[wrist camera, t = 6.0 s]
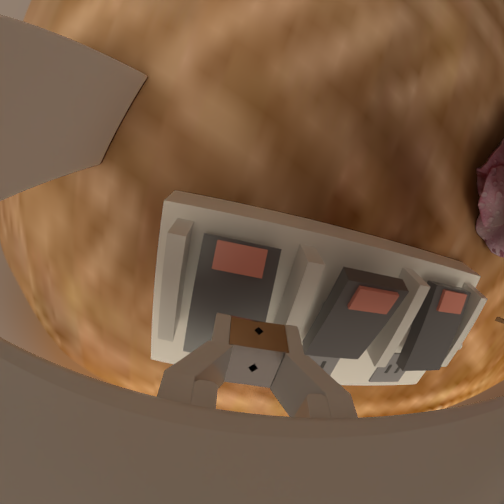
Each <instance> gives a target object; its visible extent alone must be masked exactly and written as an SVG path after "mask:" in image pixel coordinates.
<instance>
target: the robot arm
mask: <svg viewBox="0 0 504 504" xmlns="http://www.w3.org/2000/svg"><path fill="white" fill-rule="evenodd" d="M224 382H231V383H239V384H248V385H254V386H261V387H268V388H270V389H271V391H272V392H273V394H274V395H275V397H276V398H277V399H278V401H279V402H280V404H281V405H282V406H283V408H284V409H285V411H286V412H287V413H288V415H289V416H290V417H283V416H270V415H260V414H250V413H242V412H234V411H227V410H220V409H216V399H217V389H218V388H219V387H220V386H221V385H222V384H223V383H224ZM0 504H504V396H499V397H496V398H492V399H489V400H484V401H481V402H476V403H472V404H467V405H462V406H458V407H452V408H447V409H441V410H435V411H428V412H421V413H413V414H404V415H394V416H382V417H366V418H358V417H357V413H356V410H355V407H354V404H353V401H352V397H351V394H350V393H349V392H347V391H346V390H345V389H344V388H343V387H342V386H341V385H340V384H339V383H337V382H336V381H335V380H334V379H333V378H332V377H331V376H330V375H329V374H328V373H326V372H325V371H324V370H323V369H322V368H321V367H320V366H319V365H318V364H317V363H316V362H315V361H313V360H312V359H311V358H310V357H309V356H307V355H304V351H303V346H302V342H301V338H300V333H299V329H298V327H297V326H293V325H281V324H275V323H268V322H262V321H257V320H252V319H247V318H242V317H237V316H232V315H231V316H230V315H227V314H222V313H217V314H216V319H215V324H214V329H213V334H212V339H211V341H207V342H205V343H204V344H203V345H201V346H200V347H198V348H197V349H195V350H194V351H193V352H191V353H190V354H188V355H187V356H185V357H184V358H182V359H181V360H180V361H178V362H177V363H175V364H174V365H172V366H171V367H169V368H168V369H166V370H165V371H164V374H163V378H162V381H161V384H160V388H159V391H158V395H157V397H155V396H151V395H147V394H143V393H140V392H136V391H133V390H129V389H126V388H122V387H119V386H116V385H112V384H109V383H106V382H103V381H100V380H97V379H94V378H91V377H89V376H86V375H83V374H80V373H78V372H75V371H72V370H70V369H67V368H65V367H62V366H60V365H57V364H55V363H53V362H50V361H48V360H46V359H43V358H41V357H39V356H36V355H35V354H32V353H30V352H28V351H26V350H24V349H22V348H20V347H18V346H16V345H14V344H12V343H10V342H8V341H6V340H4V339H2V338H1V337H0Z"/></svg>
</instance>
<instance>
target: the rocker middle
mask: <svg viewBox="0 0 504 504" xmlns="http://www.w3.org/2000/svg"><path fill="white" fill-rule="evenodd" d="M408 293H409V291H408V289H407V287H406V285H405V283H404V281H403V279H400V278H395V277H390V276H386V275H381V274H376V273H372V272H367V271H362V270H357V269H353V268H348V267H343V269H342V270H341V272H340V274H339V276H338V278H337V280H336V282H335V284H334V286H333V288H332V290H331V291H330V293H329V295H328V297H327V299H326V301H325V302H323V304H322V307H321V310H320V311H319V313H318V315H317V317H316V319H315V320H314V322H313V324H312V326H311V327H310V329H309V331H308V332H307V334H306V336H305V338H304V339H303V341H302V344H303V351H304V355H310V356H320V357H332V358H345V359H359V357H360V356H361V355H362V354H363V353H364V351H365V350H366V349H367V348H368V347H369V345H370V344H371V343H372V342H373V340H374V339H375V338H376V336H377V335H378V334H379V333H380V331H381V330H382V329H383V327H384V326H385V325H386V323H387V322H388V321H389V319H390V318H391V317H392V315H393V314H394V313H395V311H396V310H397V308H398V307H399V306H400V304H401V303H402V301H403V300H404V298H405V297H406V296H407V294H408Z"/></svg>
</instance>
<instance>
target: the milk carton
mask: <svg viewBox="0 0 504 504" xmlns="http://www.w3.org/2000/svg"><path fill="white" fill-rule="evenodd" d="M146 78H147V76H146V75H145V74H143V73H141V72H140V71H138V70H136V69H134V68H132V67H130V66H128V65H126V64H124V63H122V62H120V61H118V60H116V59H114V58H112V57H109V56H107V55H105V54H103V53H101V52H99V51H97V50H94V49H92V48H90V47H88V46H85V45H83V44H81V43H79V42H76V41H74V40H71V39H69V38H67V37H64V36H62V35H59V34H56V33H54V32H51V31H49V30H46V29H43V28H40V27H38V26H35V25H32V24H29V23H26V22H23V21H20V20H17V19H13V18H10V17H7V16H3V15H0V201H1V200H4V199H6V198H8V197H10V196H13V195H15V194H17V193H20V192H22V191H25V190H27V189H30V188H32V187H35V186H37V185H40V184H43V183H45V182H48V181H51V180H53V179H56V178H59V177H62V176H65V175H68V174H71V173H73V172H77V171H80V170H83V169H86V168H89V167H92V166H96V165H99V164H100V163H101V161H102V159H103V157H104V155H105V152H106V150H107V148H108V146H109V144H110V142H111V140H112V138H113V136H114V134H115V132H116V130H117V128H118V127H119V125H120V123H121V121H122V119H123V117H124V115H125V114H126V112H127V110H128V108H129V106H130V105H131V103H132V101H133V100H134V98H135V96H136V95H137V93H138V91H139V90H140V88H141V86H142V85H143V83H144V82H145V80H146Z"/></svg>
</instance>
